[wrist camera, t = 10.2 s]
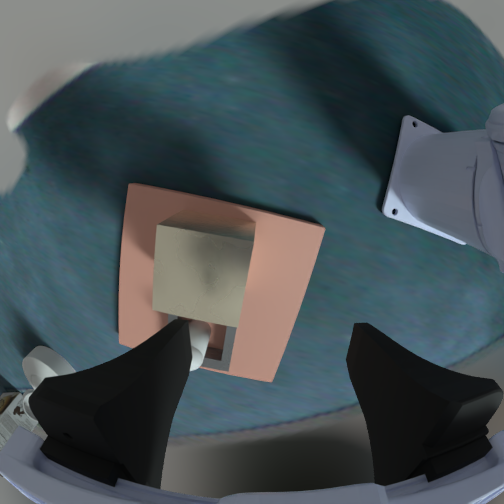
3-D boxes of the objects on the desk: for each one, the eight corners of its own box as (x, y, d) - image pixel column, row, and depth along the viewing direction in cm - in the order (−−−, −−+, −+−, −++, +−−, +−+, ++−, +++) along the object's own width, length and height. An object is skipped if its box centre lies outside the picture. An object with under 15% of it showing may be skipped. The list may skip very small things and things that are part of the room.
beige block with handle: (182, 209, 18) (156, 224, 14) (255, 222, 18) (254, 241, 14) (171, 348, 22) (154, 387, 17) (230, 360, 22) (223, 403, 17)
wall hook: (65, 445, 16) (38, 449, 18) (100, 387, 26) (68, 403, 27) (0, 380, 15) (-12, 398, 16) (49, 331, 24) (25, 358, 26)
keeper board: (322, 225, 19) (343, 246, 14) (271, 375, 23) (273, 420, 18) (134, 182, 19) (95, 189, 14) (123, 337, 23) (97, 374, 18)
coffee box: (23, 416, 31) (-12, 467, 16) (2, 391, 30) (-38, 441, 14) (43, 418, 30) (3, 479, 15) (19, 390, 28) (-27, 449, 13)
